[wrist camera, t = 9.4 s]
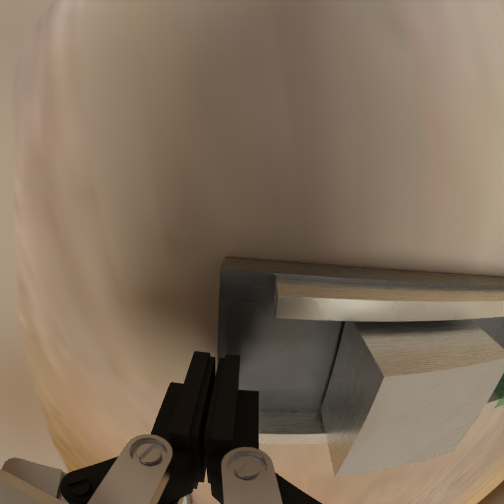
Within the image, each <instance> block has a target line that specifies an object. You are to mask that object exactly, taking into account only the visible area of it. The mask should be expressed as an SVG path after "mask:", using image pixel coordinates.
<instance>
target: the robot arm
mask: <svg viewBox="0 0 504 504" xmlns="http://www.w3.org/2000/svg"><path fill="white" fill-rule="evenodd" d="M239 372H240V355H229V354H226V355H225V358H219V362H218V367H217V372H216V377H215V357H210V353H207V352H198V351H195V352H194V354H193V357H192V360H191V363H190V366H189V369H188V372H187V375H186V378H185V381H184V384H181V383H174V382H171V383H170V385H169V387H168V390H167V392H166V395H165V397H164V400H163V403H162V405H161V408H160V410H159V413H158V416H157V418H156V421H155V424H154V426H153V429H152V432H151V434H143V435H139V436H136V437H134V438H133V439H131V440H130V441H129V442H128V443H127V444H126V446H125V447H124V449H123V450H122V452H121V453H120V455H119V456H118V457H115V458H112V459H110V460H107V461H104V462H101V463H98V464H95V465H92V466H88V467H85V468H82V469H78V470H75V471H72V472H70V473H65V472H63V471H62V470H61V469H57V468H52V467H48V466H45V465H41V464H37V463H34V462H30V461H26V460H24V459H21V458H11V459H8V460H7V461H6V462H5V463H4V465H3V467H2V469H0V504H182V503H183V500H184V497H185V496H187V495H188V494H190V493H192V492H193V489H197V486H198V482H204V478H205V472H206V467H207V477H208V483H211V492H212V496H213V497H214V498H215V499H217V500H218V501H219V502H220V503H221V504H322V503H320V502H319V501H317V500H315V499H314V498H312V497H311V496H309V495H307V494H306V493H304V492H303V491H301V490H300V489H298V488H297V487H295V486H294V485H292V484H291V483H289V482H288V481H286V480H285V479H284V478H282V477H281V476H279V475H278V474H277V473H275V470H274V466H273V463H272V460H271V458H270V457H269V456H268V455H267V454H266V453H265V452H263V451H261V450H259V391H251V390H239Z"/></svg>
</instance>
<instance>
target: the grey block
mask: <svg viewBox="0 0 504 504" xmlns="http://www.w3.org/2000/svg"><path fill="white" fill-rule="evenodd" d="M503 373H504V349H503V348H502V347H501V346H500V345H499V344H498V343H497V342H495V341H494V340H493V339H492V338H491V337H490V336H489V335H488V334H486V333H485V332H484V331H483V330H482V329H481V328H480V327H478V326H477V325H476V324H475V323H474V322H472V321H471V320H470V319H462V320H439V321H345V325H344V330H343V334H342V338H341V342H340V346H339V349H338V353H337V357H336V361H335V364H334V368H333V371H332V375H331V378H330V382H329V385H328V388H327V392H326V395H325V398H324V401H323V404H322V407H321V415H322V419H323V424H324V428H325V433H326V437H327V442H328V447H329V451H330V456H331V461H332V465H333V470H334V475H335V477H338V476H347V475H355V474H362V473H368V472H374V471H379V470H385V469H390V468H394V467H399V466H403V465H407V464H411V463H415V462H419V461H423V460H426V459H430V458H433V457H436V456H440V455H443V454H446V453H449V452H452V451H454V449H455V448H456V447H457V446H458V444H459V443H460V442H461V440H462V439H463V438H464V436H465V435H466V433H467V432H468V431H469V429H470V428H471V426H472V425H473V423H474V422H475V420H476V419H477V417H478V416H479V414H480V413H481V411H482V410H483V408H484V406H485V405H486V403H487V402H488V400H489V398H490V397H491V395H492V393H493V391H494V390H495V388H496V386H497V384H498V382H499V381H500V379H501V377H502V375H503Z"/></svg>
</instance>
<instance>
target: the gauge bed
mask: <svg viewBox="0 0 504 504" xmlns="http://www.w3.org/2000/svg"><path fill="white" fill-rule="evenodd" d="M462 319H470V320H471V321H472V322H474V323H475V324H476V325H477V326H478V327H480V328H481V329H482V330H483V331H484V332H485V333H486V334H488V335H489V336H490V337H491V338H492V339H493V340H494V341H495V342H497V343H498V344H499V345H500V346H501V347H502V348H503V349H504V277H496V276H480V275H464V274H449V273H434V272H419V271H404V270H390V269H376V268H362V267H348V266H335V265H321V264H308V263H295V262H282V261H269V260H257V259H244V258H232V257H225V259H224V261H223V264H222V267H221V271H220V295H219V324H218V362H219V358H225V355H226V354H229V355H240V372H239V390H251V391H259V444H320V443H328V442H327V437H326V433H325V428H324V424H323V419H322V415H321V407H322V404H323V401H324V398H325V395H326V392H327V388H328V385H329V382H330V378H331V375H332V371H333V368H334V364H335V361H336V357H337V353H338V349H339V346H340V342H341V338H342V334H343V330H344V325H345V321H439V320H462ZM217 367H218V365H217ZM501 405H504V373H503V375H502V377H501V379H500V381H499V382H498V384H497V386H496V388H495V390H494V391H493V393H492V395H491V397H490V398H489V400H488V402H487V403H486V405H485V406H484V408H483V410H482V411H481V413H483V412H485V411H488V410H491V409H494V408H496V407H499V406H501Z"/></svg>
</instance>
